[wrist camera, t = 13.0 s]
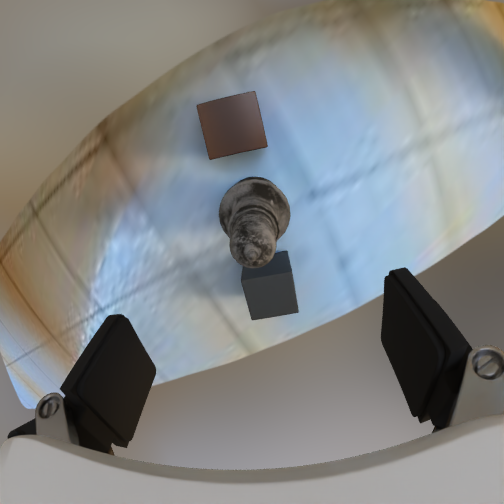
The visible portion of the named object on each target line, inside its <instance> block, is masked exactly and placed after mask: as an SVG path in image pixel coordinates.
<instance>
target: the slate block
mask: <svg viewBox="0 0 504 504" xmlns="http://www.w3.org/2000/svg"><path fill="white" fill-rule="evenodd" d="M241 283H242V287H243V290H244V294H245V298H246V301H247V305H248V308H249V312H250V316H251V319H252V320H257V319H264V318H270V317H276V316H281V315H287V314H292V313H298V312H299V311H298V305H297V299H296V293H295V286H294V280H293V274H292V269H291V265H290V260H289V256H288V252H287V251H282V252H277V253H275V254H274V256H273V258H272V259H271V260H270V262H269V263H267V264H266V265H264V266H262V267H259V268H247V267H245V266H243V268H242V276H241Z"/></svg>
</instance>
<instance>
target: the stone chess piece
mask: <svg viewBox="0 0 504 504" xmlns="http://www.w3.org/2000/svg"><path fill="white" fill-rule="evenodd" d="M219 219H220V224H221V226H222V228H223V230H224V232H225V233H226V234H227V236H228V237H229V238H230V251H231V254H232V256H233V258H234V259H235V260H236V261H237V262H238V263H239V264H241V265H242V266H245V267H247V268H259V267H262V266H264V265H266V264H267V263H269V262H270V260H271V259H272V258H273V256H274V254H275V251H276V241H277V240H278V239H279V238H280V237H281V236H282V235H283V234H284V233H285V231H286V229H287V227H288V225H289V220H290V207H289V204H288V201H287V198H286V197H285V195H284V194H283V193H282V191H281V190H280V189H278V188H277V187H276V185H274V184H273V183H272V182H271V181H269V180H267V179H264V178H261V177H249V178H246V179H243V180H241V181H239V182H238V183H237V184H235V185H234V186H233V187H232V188H230V189H229V190H228V191H227V193H226V194H225V195H224V197H223V199H222V201H221V204H220V208H219Z"/></svg>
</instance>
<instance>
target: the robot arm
mask: <svg viewBox="0 0 504 504" xmlns="http://www.w3.org/2000/svg"><path fill="white" fill-rule="evenodd" d="M381 341H382V345H383V347H384V349H385V351H386V353H387V356H388V358H389V360H390V363H391V365H392V367H393V369H394V372H395V374H396V376H397V379H398V381H399V384H400V386H401V388H402V391H403V393H404V396H405V398H406V401H407V403H408V406H409V409H410V411H411V414H412V415H413V417H416V416H418V419H419V422H420V423H422V422H425V421H428V420H430V419H431V421H432V424H433V425H434V426H435V427H434V430H433V432H432V434H429V435H426V436H423V437H420V438H417V439H415V440H412V441H409V442H406V443H403V444H400V445H397V446H394V447H390V448H387V449H383V450H379V451H375V452H372V453H367V454H363V455H359V456H355V457H351V458H346V459H341V460H336V461H331V462H325V463H319V464H312V465H305V466H297V467H287V468H276V469H257V470H213V469H197V468H185V467H175V466H167V465H160V464H154V463H148V462H142V461H137V460H132V459H126V458H122V457H118V456H115V455H114V452H113V450H112V447H111V444H112V443H113V444H115V445H116V446H120V447H125V448H127V446H128V443H129V441H131V440H132V438H133V435H134V433H135V430H136V427H137V424H138V421H139V418H140V416H141V413H142V410H143V407H144V405H145V402H146V399H147V396H148V394H149V391H150V388H151V386H152V383H153V380H154V378H155V375H156V367H155V365H154V363H153V362H152V360H151V358H150V357H149V355H148V353H147V352H146V350H145V348H144V347H143V345H142V343H141V341H140V339H139V338H138V336H137V334H136V332H135V330H134V329H133V327H132V325H131V323H130V321H129V319H128V318H126V317H125V316H124V315H122V314H117V315H109V316H108V317H107V318H106V319H105V321H104V322H103V324H102V325H101V326H100V328H99V329H98V331H97V332H96V334H95V335H94V336H93V338H92V339H91V341H90V342H89V344H88V345H87V347H86V348H85V350H84V351H83V353H82V354H81V356H80V357H79V359H78V360H77V362H76V364H75V365H74V367H73V368H72V370H71V371H70V373H69V375H68V376H67V378H66V379H65V381H64V383H63V384H62V386H61V388H60V390H61V391H62V392H63V393H64V394H65V395H66V396H65V397H64V398H63V397H62V396H61V395H60V394H59V393H50V394H47V395H46V396H44V397H43V398H42V399H41V400H40V401H39V403H38V404H37V407H36V411H35V419H33V420H32V421H30V422H27V423H26V424H24V425H22V426H20V427H18V428H16V429H15V430H13V431H11V432H10V433H9V435H8V439H7V440H6V441H5V442H4V443H3V444H2V446H1V447H0V504H504V352H503V351H502V350H500V349H499V348H497V347H495V346H492V345H482V346H478V347H476V348H475V349H472V348H471V346H470V345H469V343H468V342H467V341H466V339H465V338H464V336H463V335H462V334H461V332H460V331H459V330H458V328H457V327H456V326H455V324H454V323H453V322H452V320H451V319H450V318H449V317H448V315H447V314H446V313H445V312H444V310H443V309H442V308H441V307H440V305H439V304H438V303H437V302H436V301H435V300H434V299H433V298H432V297H431V296H430V295H429V293H428V292H427V291H426V290H425V289H424V287H423V286H422V285H421V284H420V283H419V282H418V280H417V279H416V278H415V277H414V276H413V275H412V274H411V272H410V271H409V270H408V269H407V268H400V269H395V270H391V271H390V272H389V275H388V276H386V277H385V280H384V303H383V317H382V329H381Z"/></svg>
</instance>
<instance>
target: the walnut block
mask: <svg viewBox="0 0 504 504" xmlns="http://www.w3.org/2000/svg"><path fill="white" fill-rule="evenodd" d="M197 110H198V114H199V119H200V123H201V127H202V131H203V135H204V139H205V143H206V148H207V152H208V156H209V159H210V160H212V159H216V158H220V157H224V156H228V155H233V154H237V153H242V152H246V151H251V150H256V149H261V148H266V147H268V145H267V140H266V136H265V131H264V127H263V122H262V118H261V114H260V109H259V105H258V101H257V97H256V93H255V91H252V92H247V93H243V94H238V95H234V96H229V97H225V98H221V99H217V100H213V101H209V102H206V103H202V104H199V105H197Z"/></svg>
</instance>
